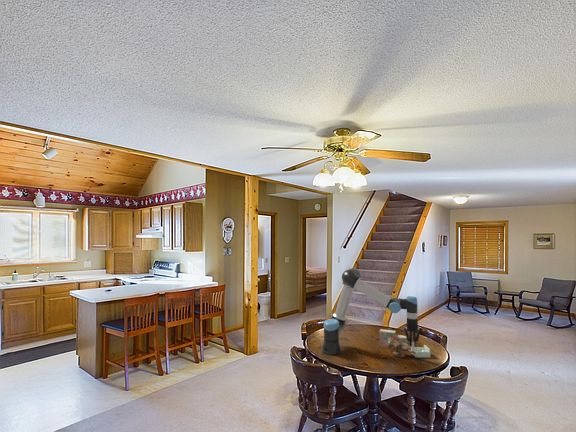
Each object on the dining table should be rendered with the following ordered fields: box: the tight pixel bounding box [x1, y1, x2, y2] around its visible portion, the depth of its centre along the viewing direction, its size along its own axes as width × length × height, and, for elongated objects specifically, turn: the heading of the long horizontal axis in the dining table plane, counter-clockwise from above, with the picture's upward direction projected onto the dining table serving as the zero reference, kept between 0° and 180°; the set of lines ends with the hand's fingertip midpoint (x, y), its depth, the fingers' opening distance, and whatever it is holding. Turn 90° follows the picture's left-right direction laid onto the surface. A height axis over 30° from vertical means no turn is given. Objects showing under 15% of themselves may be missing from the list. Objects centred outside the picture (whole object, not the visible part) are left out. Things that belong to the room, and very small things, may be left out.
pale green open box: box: [411, 344, 431, 359], centre depth 250 cm, size 11×10×6 cm
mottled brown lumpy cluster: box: [385, 338, 416, 355], centre depth 248 cm, size 18×11×7 cm, turn 88°
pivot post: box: [392, 345, 405, 358], centre depth 251 cm, size 6×8×8 cm
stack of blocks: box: [378, 328, 409, 351], centre depth 268 cm, size 21×6×12 cm, turn 64°
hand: (412, 350), depth 244 cm, fingers closed
